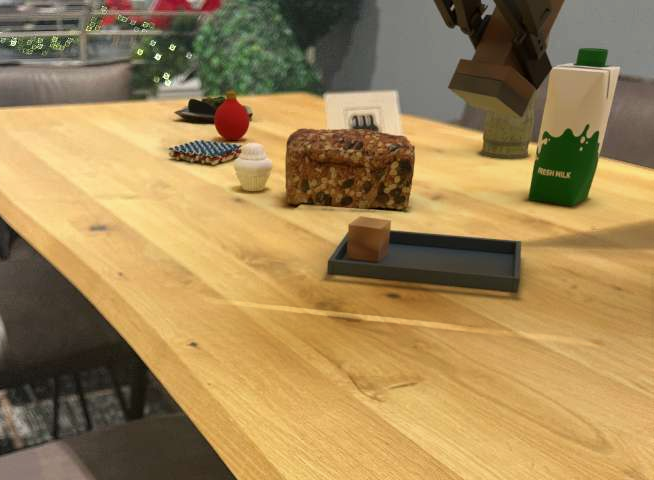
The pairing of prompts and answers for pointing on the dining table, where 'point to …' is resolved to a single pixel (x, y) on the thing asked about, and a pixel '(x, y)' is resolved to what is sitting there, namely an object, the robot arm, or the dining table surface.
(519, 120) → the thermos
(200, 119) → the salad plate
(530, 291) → the dining table surface
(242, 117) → the christmas ornament
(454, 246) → the tray
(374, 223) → the wooden block
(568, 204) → the milk carton
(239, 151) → the woven mat
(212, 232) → the dining table surface
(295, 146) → the bread
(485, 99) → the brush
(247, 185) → the muffin
